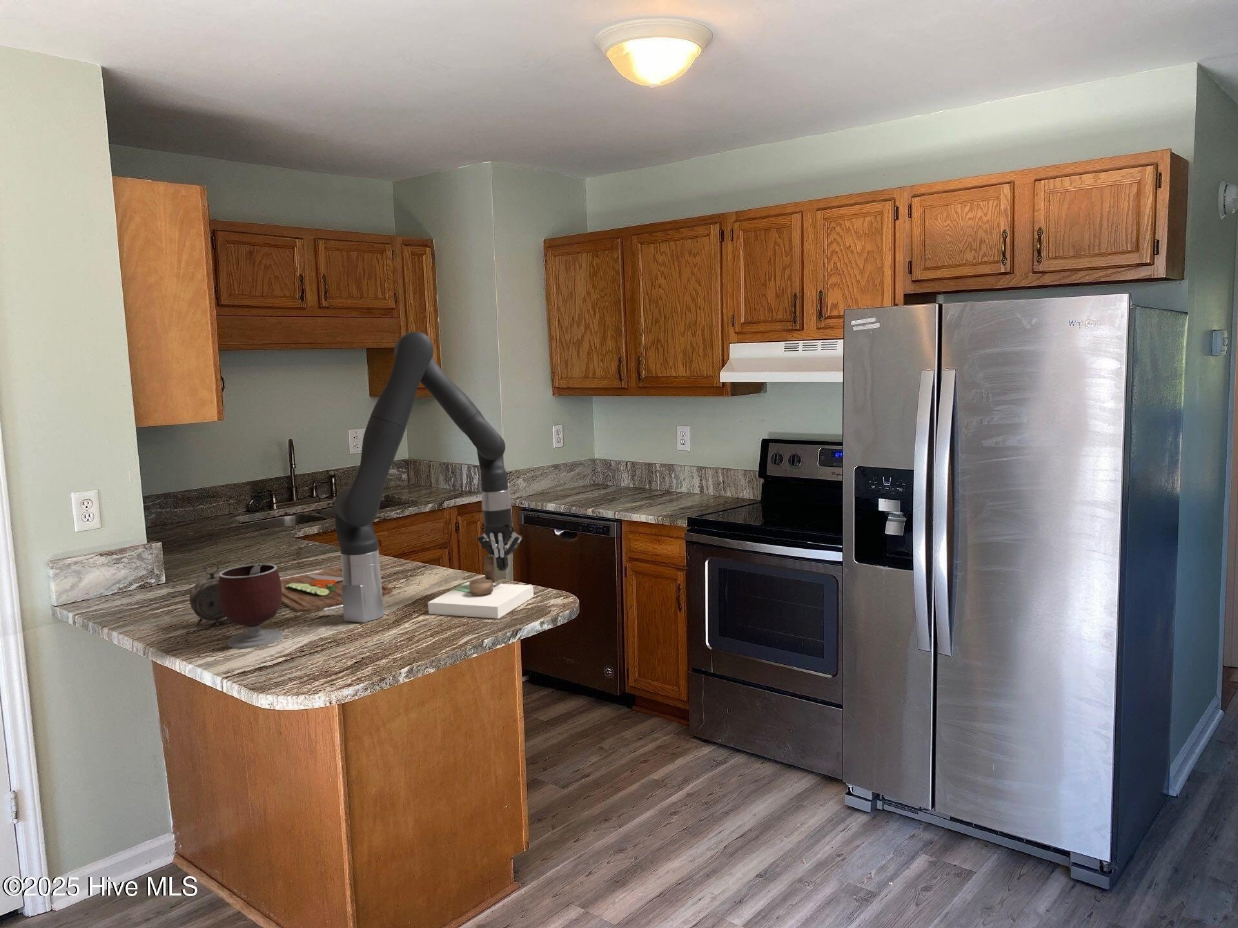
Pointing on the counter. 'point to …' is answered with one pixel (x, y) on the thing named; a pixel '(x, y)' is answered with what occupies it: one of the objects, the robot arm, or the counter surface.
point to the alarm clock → (207, 599)
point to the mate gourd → (251, 602)
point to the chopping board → (316, 590)
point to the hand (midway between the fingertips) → (503, 569)
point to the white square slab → (481, 601)
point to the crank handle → (487, 584)
